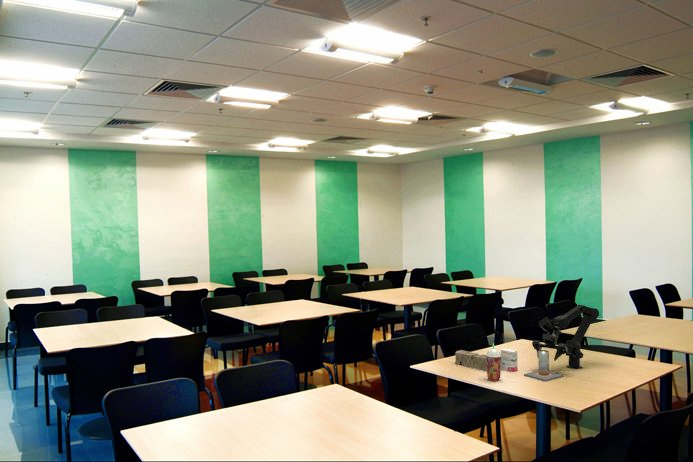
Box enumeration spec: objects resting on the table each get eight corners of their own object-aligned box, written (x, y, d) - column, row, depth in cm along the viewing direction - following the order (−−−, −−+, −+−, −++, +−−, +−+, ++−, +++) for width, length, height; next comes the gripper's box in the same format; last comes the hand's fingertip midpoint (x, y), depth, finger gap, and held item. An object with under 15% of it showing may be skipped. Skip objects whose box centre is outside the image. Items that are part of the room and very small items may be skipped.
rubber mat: (542, 371, 305) (542, 369, 305) (563, 376, 293) (563, 374, 293) (524, 375, 296) (523, 373, 296) (545, 381, 284) (545, 379, 284)
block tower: (453, 365, 325) (494, 373, 302) (453, 351, 325) (493, 358, 303) (461, 363, 330) (502, 370, 307) (461, 349, 330) (501, 356, 308)
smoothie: (502, 378, 291) (502, 342, 291) (500, 382, 283) (499, 345, 283) (487, 377, 294) (486, 341, 294) (484, 381, 287) (484, 344, 287)
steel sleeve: (542, 372, 298) (542, 349, 298) (551, 374, 294) (550, 351, 294) (536, 374, 295) (536, 350, 295) (544, 376, 291) (544, 352, 291)
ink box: (518, 370, 307) (517, 350, 307) (513, 372, 304) (512, 351, 304) (505, 367, 313) (505, 348, 314) (500, 369, 310) (500, 349, 310)
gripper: (532, 326, 307) (525, 349, 299) (565, 329, 295) (559, 353, 287) (537, 337, 313) (531, 360, 305) (570, 341, 301) (564, 364, 293)
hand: (546, 359), depth 297 cm, fingers open, 9 cm apart
